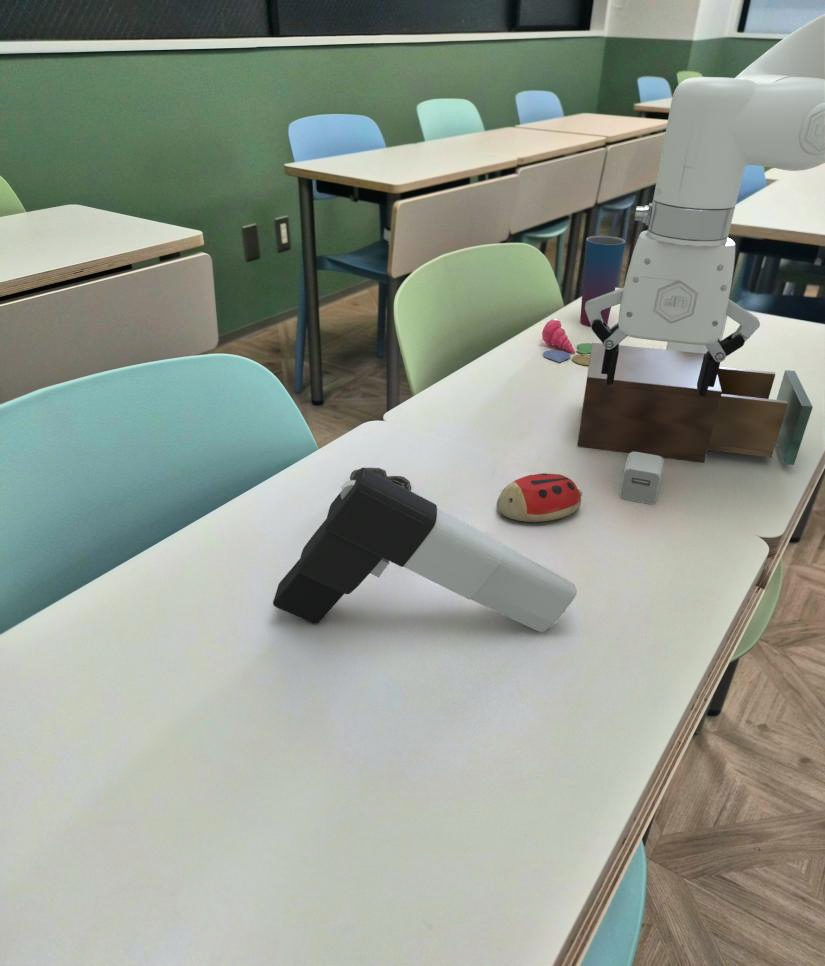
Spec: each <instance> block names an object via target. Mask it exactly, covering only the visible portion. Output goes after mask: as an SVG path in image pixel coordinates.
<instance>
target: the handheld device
mask: <svg viewBox="0 0 825 966" xmlns="http://www.w3.org/2000/svg"><path fill="white" fill-rule="evenodd" d="M367 468H368V467H361V468H359V469H360V470H359V471H358V472H357V473H356V474H355V476H354V477H353V478H352V479H351V480H350V479H349V480H348V481H346V482H345V483H343V486H342V487H341V490H340V492H339V493H338V495H337V496H336V497H335V498H334V499H333V501H332V502H331V504H330V505H329V508H328V511H327V516H326V519H324V520H323V522H322V523H321V525H319V527H318V529H317V530H316V531H315V532H314V533H313V534H312V536H311V537H310V538H309V540H308V541H306V544H305V545H304V546H303V548H302V551H301V554H300V557H299V559H298V560H297V561H296V563H295V564H294V565H293V566H292V567H291V568H290V569H289V571H288V572H287V573H286V574H285V575H284V577H282V579H281V580H280V581H279V583H278V585H277V589H276V591H275V594H274V598H273V600H272V605H273V606H274V607H275V608H277V609H279V610H282V611H284V612H286V613H288V614H289V615H290V614H291V615H292V616H295V617H297V618H299V619H301V620H304V621H305V622H308V623H310V624H313V625H318V624H319V623H321V622H322V620H323V619H324V618H325V617H326V616H327V615H328V613H329V612H330V611H331V610H332V609H333V608H334V606H336V604H337V603H338V602H339V601H340V600H341V598H342V597H343V596H344V595H350V594H351V593H352V592H354V591H355V590H356V589H357V588H358V587H359V586H360V585H361V584H362V582H363V581H364V580H366V578H367V577H368V576H369V575H370V574H371V575H373V576H374V577H377V578H380V576H381V575H382V574H383V572H385V570H386V568H387V567H388V566H389V564H390V563H392V564H395V565H397V566H398V567H401V568H405V569H407V570H408V571H411V572H413V573H415V574H416V575H418V576H421V577H423V578H425V579H427V580H428V581H431V582H433V583H435V584H437V585H438V586H441V587H443V588H445V589H447V590H449V591H451V592H453V593H455V594H457V595H459V596H461V597H463V598H464V599H467V600H470V601H473V602H474V603H477V604H479V605H480V606H481V605H482V606H483V607H485V608H487V609H490V610H492V611H494V612H496V613H498V614H501V615H503V616H505V617H507V618H509V619H511V620H512V621H513V620H514V621H515V622H518V623H520V624H522V625H524V626H527V627H528V628H530V629H533V630H535V631H537V632H539V633H544V632H545V631H547V630H548V629H549V628H550V627H552V626H553V625H554V624H556V623H557V621H558V620H559V619H560V618H561V617H562V615H563V614H564V613H565V612H566V610H567V609H568V608H569V606H570V605H571V604H572V602H573V601H574V599H575V598H576V596H577V592H578V591H577V590H578V589H577V586H576V585H575V583H574V582H571V581H570V580H568V579H566V578H564V577H563V576H561V575H559V574H557V573H555V572H554V571H552V570H551V569H549V568H547V567H545V566H543V565H541V564H539V563H538V562H536V561H534V560H533V559H531V558H530V557H527V556H525V555H523V554H521V553H519V552H518V551H516V550H514V549H513V548H512V547H509V546H508V545H505V544H503V543H502V541H501V540H500V539H498V538H496V537H494V536H492V535H490V534H488V533H486V532H485V531H482V530H481V529H478V528H476V527H475V526H473V525H470V524H469V523H466V522H465V521H463V520H461V519H459V518H457V517H455V516H453V515H451V514H449V513H448V512H445V511H444V510H441V509H439V508H438V505H437V504H436V503H434V502H433V501H430V500H428V499H427V498H425V497H423V496H421V495H419V494H417V493H415V492H413V491H412V490H411V491H409V490H407V489H405V488H403V487H401V486H400V485H398V484H396V483H394V482H392V481H390V480H388V479H386V478H384V477H382V476H380V475H378V474H376V473H374V472H372V471H371V470H369V469H367Z"/></svg>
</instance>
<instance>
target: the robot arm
mask: <svg viewBox="0 0 825 966" xmlns="http://www.w3.org/2000/svg"><path fill="white" fill-rule="evenodd" d="M667 117H668V118H667V123H666V128H665V134H664V138H663V139H664V140H663V144H662V149H661V155H660V156H661V157H660V160H659V166H658V172H657V176H656V183H655V189H654V194H653V198H652V202H649V203H648V205H644V206H641V205H639V206H638V205H637V206H636V207H635V214H634V221H638V222H641V223H643V224H645V226H647V230H642V231H641V232H640V233H639V235H638V237H637V240H636V243H635V246H634V248H633V251H632V255H631V259H630V263H629V265H628V269H627V273H626V277H625V281H624V285H623V287H620V288H618V289H615V291H612V292H610V293H607V294H604V295H602V296H599V297H596V298H594V299H591V300H588V301H587V302H586V304H585V311H586V314H587V316H588V319H589V322H590V324H591V326H590V328H591V331H592V332H593V333H594V334H595V336H596V337H597V338H598V340H600V342H601V343H602V344H604V347H605V353H604V359H603V364H602V371H601V374H607V381H606V385H611V384H613V381H614V376H615V370H616V365H617V359H618V354H619V345H620V343H621V342H623V341H624V340H625V339H626V338H627V337H630V338H634V339H641V340H647V341H648V340H649V341H657V342H674V343H684V344H694V345H705V346H706V347H707V349H708V351H707V353H705V354H704V358H703V362H702V366H701V370H700V374H699V378H698V382H697V389H698V395H700V396H702V397H706V394H707V390H708V387H714V385H715V381H716V377H717V373H718V370H719V367H721V366H720V365H721V362H723V361H725V360H726V357H728V356H730V355H731V354H733V353H734V352H736V351H738V350H739V349H741V348H742V347H743V346H744V345H745V343H746V342H747V340H749V339H750V338H751V337H752V336H753V334H754V333H755V332H756V331H757V330H758V329H759V328H760V326H761V323H760V320H759V318H758V317H757V316H756V315H754V314H752V313H751V312H749V311H748V310H747V309H745V308H743V307H742V306H741V305H739V304H738V303H736V302H734V301H733V300H731V299H730V295H731V289H732V283H733V276H734V269H735V260H736V243H735V241H734V240H733V239H731V238H729V234H730V230H731V227H732V226H731V225H732V222H733V218H734V215H735V214H734V213H735V209H736V205H737V202H738V197H739V193H740V189H741V186H742V181H743V177H744V172H745V168H746V167H748V166H759V167H767V168H771V169H777V170H782V171H789V172H797V171H798V172H800V171H806V170H810V169H814V168H817V167H819V166H821V165H824V164H825V13H823V14H821V15H819V16H818V17H816V18H813V20H810V21H809V22H807V23H805V24H804V25H802V26H801V27H799V28H798V29H797V28H796V30H794V31H793V32H791V33H790V34H788V35H787V36H785V37H783V39H781V40H780V41H778V42H777V43H775V44H774V45H773V46H772V47H770V48H769V49H768V50H767V51H766V52H764V53H763V54H761V55H760V56H759V57H758V58H756V59H755V60H754V61H753V62H751V63H750V64H749V65H748V66H747V67H745V69H743V70H742V71H741V72H740V73H738V74H737V75H736V76H735V77H722V76H695V77H688V78H686V79H684V80H681V82H679V84H678V85H676V88H675V89H674V91H673V94H672V97H671V101H670V106H669V112H668V116H667ZM618 305H619V311H618V320H617V322H616V323H615V324H614V325H613V326H612V327H609V325H608V324H606V323H605V322H604V320H603V319H602V316H601V313H600V312H601V311H602V310H604V309H607V308H610V307H611V308H612V307H615V306H618ZM725 315H727V318H730V319H731V320H733V321H734V322H736V323H737V324H739V326H738V327H737V329H736V330H735V331H734V332H732V333H730V334H729V335H728V336H727V337H725V338H722V341H720V339H719V337H720V335H721V332H722V329H723V325H724V320H725Z"/></svg>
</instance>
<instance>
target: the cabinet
mask: <svg viewBox="0 0 825 966" xmlns="http://www.w3.org/2000/svg"><path fill="white" fill-rule="evenodd" d="M591 343H592V347H591V353H589V355H590V361H589V366H587V368H588V369H587V374H586V375H587V376H586V381H585V388H584V394H583V395H584V396H583V403H582V410H581V416H580V423H579V430H578V438H577V442H576V443H577V444H576V445H577V447H580V448H587V449H596V450H603V451H610V452H620V453H626V454H629V453H631V452H640V453H646V454H652V455H657V456H661V457H662V458H665V459H672V460H681V461H690V462H695V463H697V462H698V463H705V461H706V457H707V454H708V451H709V450H708V446H709V442H710V438H711V434H712V430H713V426H714V422H715V418H716V414H717V410H718V407H719V403H720V399H721V394H722V390H721V386H720V382H719V378H718V374H717V377H716V381H715V385H714V387H708V390H707V394H706V397H702V396H700V395H698V389H697V382H698V378H699V374H700V370H701V366H702V362H703V358H704V354H703V353H693V352H683V351H673V350H666V349H662V348H651V347H642V346H632V345H622V344H619V354H618V359H617V365H616V370H615V376H614V381H613V384H611V385H606V381H607V374H601V371H602V364H603V359H604V353H605V347H604V344H603V343H602V342H601V343H600V342H591Z"/></svg>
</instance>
